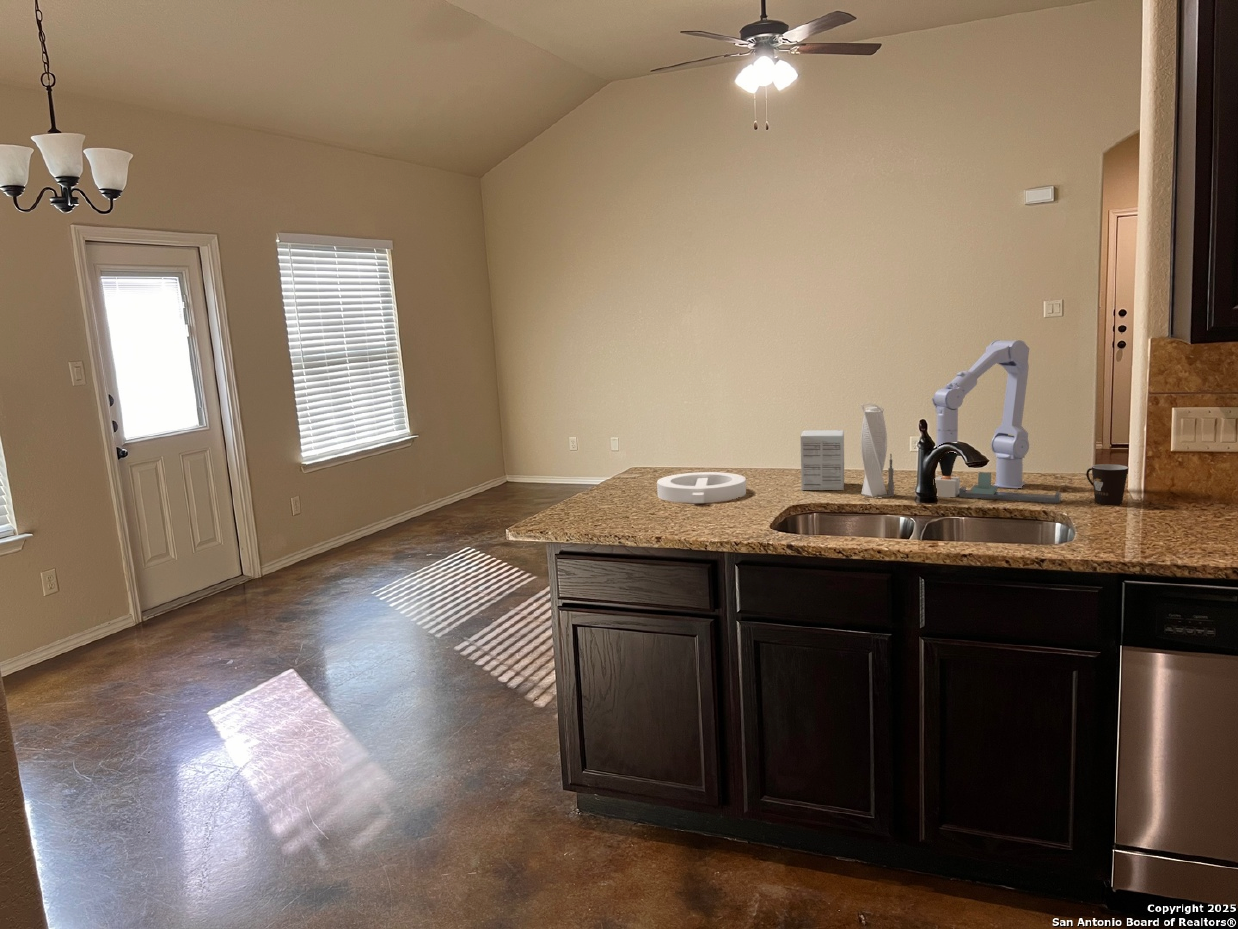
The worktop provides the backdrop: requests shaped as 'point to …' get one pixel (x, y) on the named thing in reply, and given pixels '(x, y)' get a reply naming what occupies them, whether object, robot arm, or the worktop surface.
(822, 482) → the supplement box
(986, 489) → the carriage
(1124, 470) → the coffee mug
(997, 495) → the rail
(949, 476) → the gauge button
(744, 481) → the ring with crossbar
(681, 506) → the worktop surface
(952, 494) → the white button housing
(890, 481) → the skyscraper
